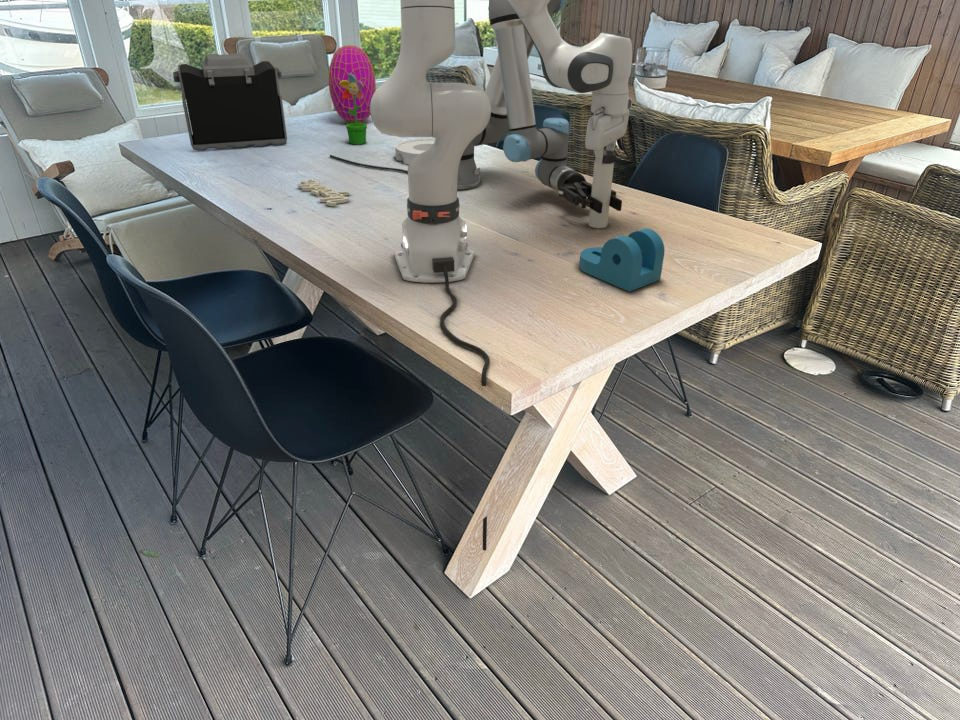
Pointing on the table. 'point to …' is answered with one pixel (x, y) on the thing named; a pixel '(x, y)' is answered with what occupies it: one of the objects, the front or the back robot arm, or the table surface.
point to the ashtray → (412, 149)
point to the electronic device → (232, 102)
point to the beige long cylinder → (601, 193)
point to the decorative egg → (340, 66)
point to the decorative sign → (324, 192)
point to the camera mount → (626, 260)
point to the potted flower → (354, 129)
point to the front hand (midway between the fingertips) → (603, 160)
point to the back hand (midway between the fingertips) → (610, 207)
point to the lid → (608, 156)
